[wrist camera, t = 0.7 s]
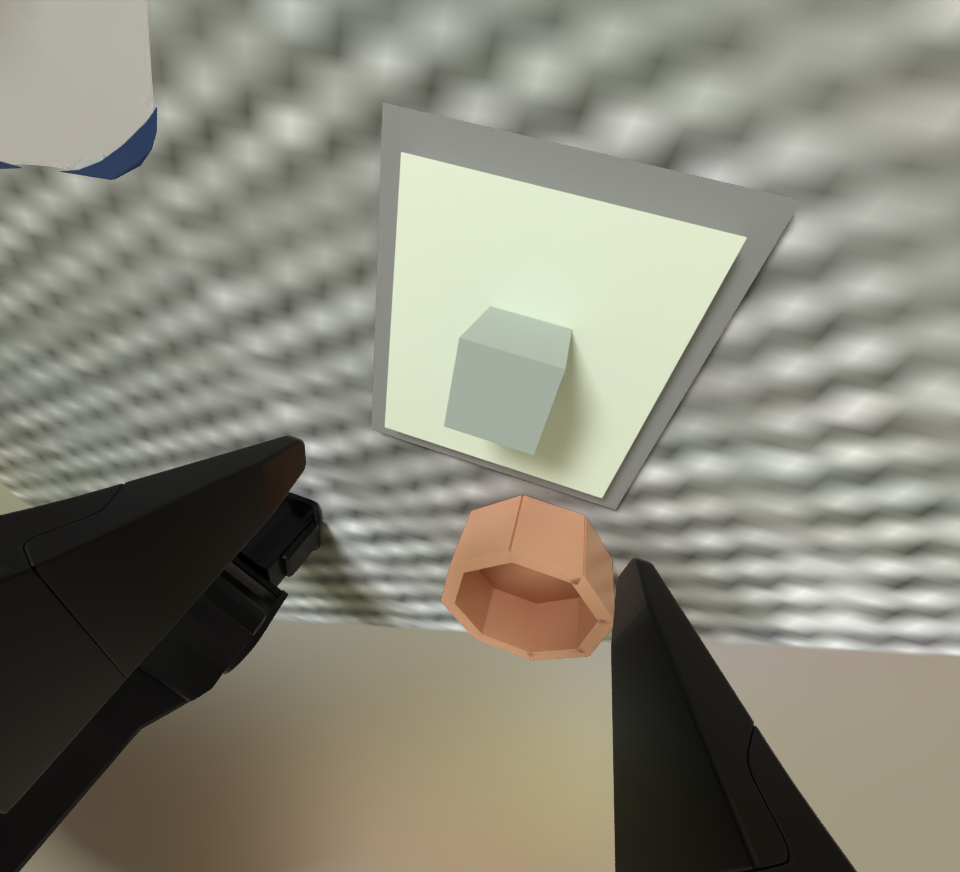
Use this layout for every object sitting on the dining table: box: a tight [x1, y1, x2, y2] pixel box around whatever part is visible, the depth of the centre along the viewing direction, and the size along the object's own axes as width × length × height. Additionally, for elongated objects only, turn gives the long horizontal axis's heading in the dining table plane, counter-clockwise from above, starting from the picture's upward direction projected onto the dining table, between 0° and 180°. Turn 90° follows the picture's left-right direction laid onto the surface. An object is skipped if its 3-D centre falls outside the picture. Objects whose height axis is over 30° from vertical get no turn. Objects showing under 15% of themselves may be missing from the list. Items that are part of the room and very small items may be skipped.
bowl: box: [441, 495, 615, 660], centre depth 27 cm, size 11×11×5 cm
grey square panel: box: [372, 103, 801, 510], centre depth 20 cm, size 17×17×1 cm
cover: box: [385, 152, 747, 498], centre depth 17 cm, size 14×14×6 cm
